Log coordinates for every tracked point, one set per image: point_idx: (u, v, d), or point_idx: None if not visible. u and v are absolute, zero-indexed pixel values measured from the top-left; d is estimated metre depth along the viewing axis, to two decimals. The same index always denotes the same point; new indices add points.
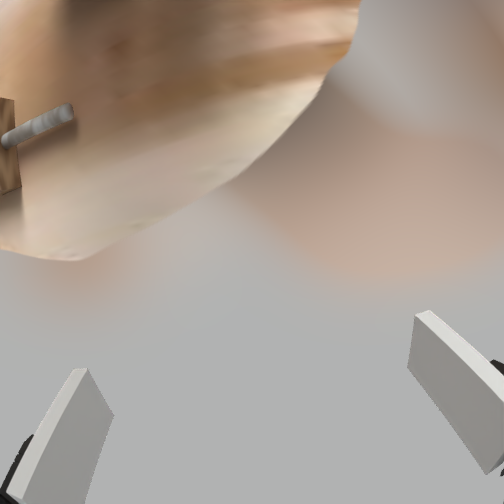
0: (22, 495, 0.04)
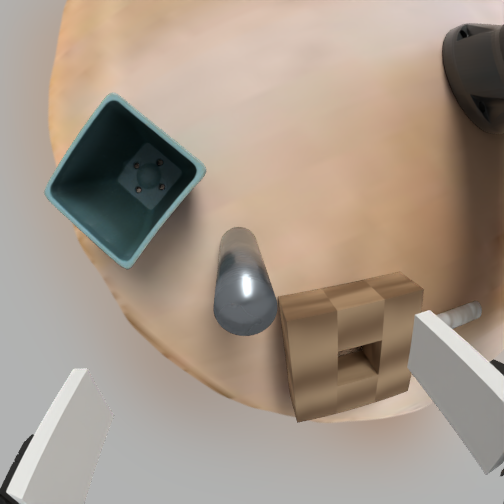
0: (22, 495, 0.04)
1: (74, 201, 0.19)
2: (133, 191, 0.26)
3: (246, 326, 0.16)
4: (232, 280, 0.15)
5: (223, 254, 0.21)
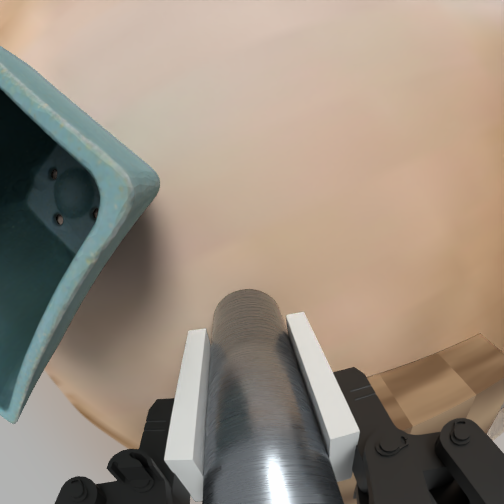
0: (191, 455, 0.06)
1: None
2: (51, 223, 0.12)
3: None
4: None
5: (217, 398, 0.08)
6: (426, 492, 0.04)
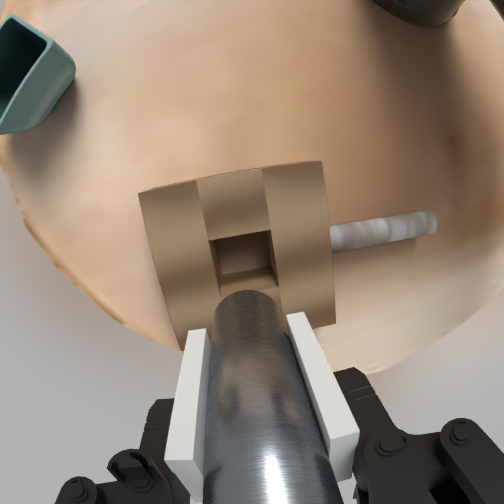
0: (191, 455, 0.06)
1: None
2: None
3: None
4: None
5: (217, 398, 0.08)
6: (425, 492, 0.04)
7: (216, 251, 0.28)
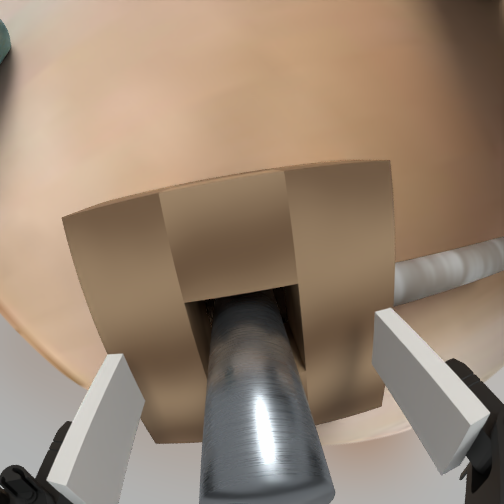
0: (66, 481, 0.05)
1: None
2: None
3: None
4: (239, 477, 0.05)
5: (218, 344, 0.11)
6: None
7: (203, 302, 0.17)
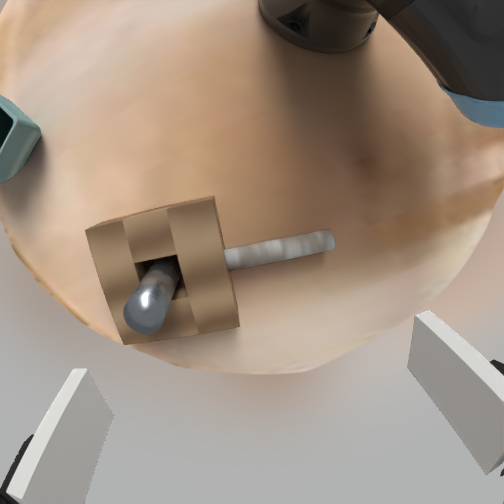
0: (22, 495, 0.04)
1: None
2: None
3: (145, 327, 0.23)
4: (132, 297, 0.22)
5: None
6: None
7: None
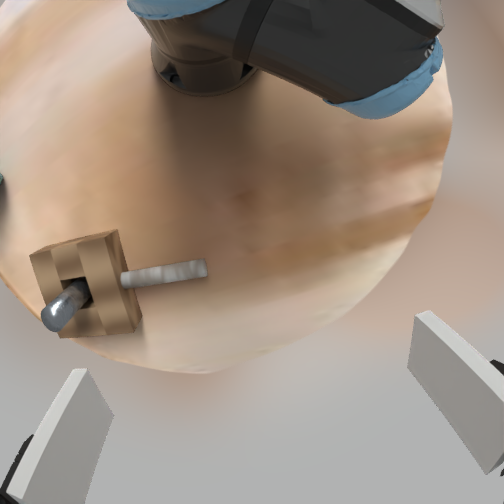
0: (22, 495, 0.04)
1: None
2: None
3: (54, 327, 0.29)
4: (45, 307, 0.29)
5: None
6: None
7: None
